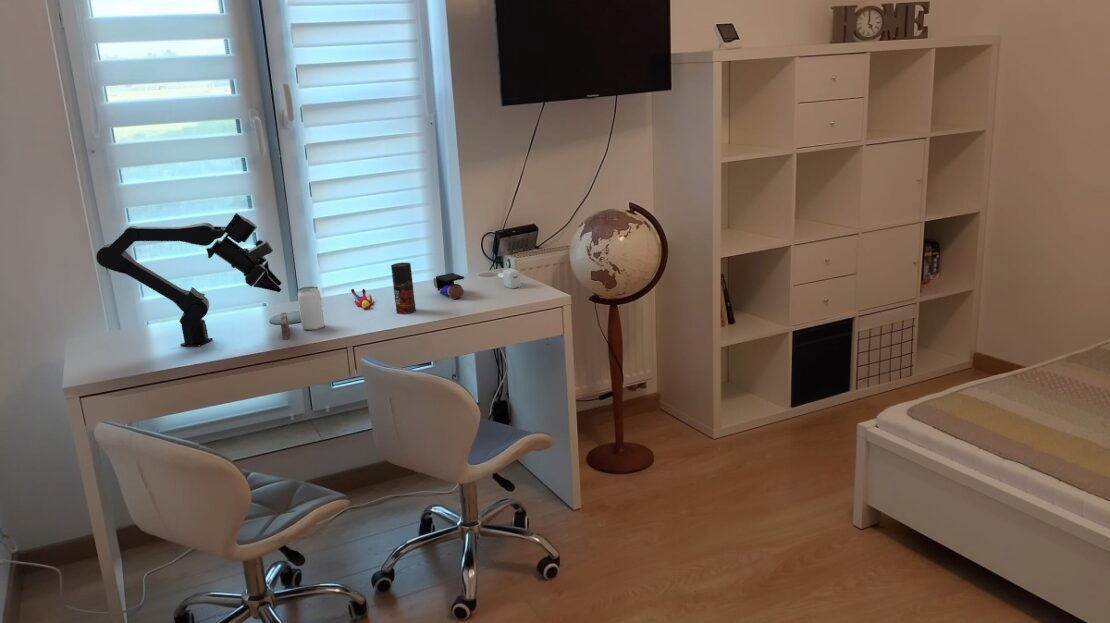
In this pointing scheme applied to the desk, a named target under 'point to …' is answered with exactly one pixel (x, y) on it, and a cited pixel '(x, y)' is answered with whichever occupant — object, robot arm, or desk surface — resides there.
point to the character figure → (362, 300)
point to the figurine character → (449, 285)
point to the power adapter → (510, 278)
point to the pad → (291, 317)
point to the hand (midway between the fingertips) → (280, 287)
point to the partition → (284, 326)
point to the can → (310, 308)
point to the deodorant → (403, 288)
